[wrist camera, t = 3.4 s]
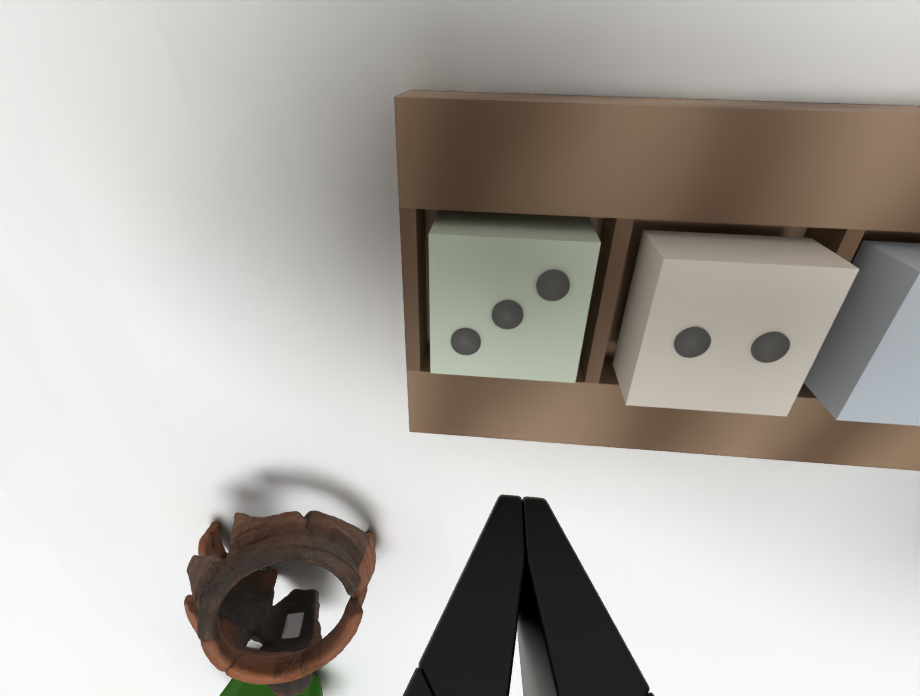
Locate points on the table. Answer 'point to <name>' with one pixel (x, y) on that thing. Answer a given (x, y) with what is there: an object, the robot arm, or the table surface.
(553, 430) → the tile board
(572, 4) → the table surface
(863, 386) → the tile one
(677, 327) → the tile two
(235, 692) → the bell pepper
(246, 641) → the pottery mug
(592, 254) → the tile three
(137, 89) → the table surface
